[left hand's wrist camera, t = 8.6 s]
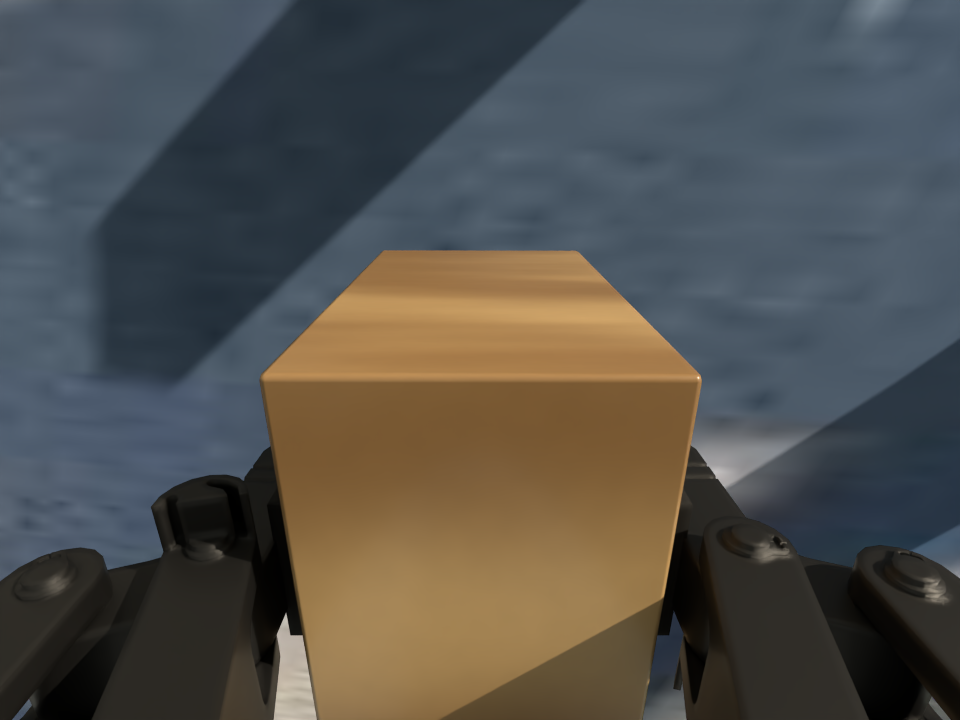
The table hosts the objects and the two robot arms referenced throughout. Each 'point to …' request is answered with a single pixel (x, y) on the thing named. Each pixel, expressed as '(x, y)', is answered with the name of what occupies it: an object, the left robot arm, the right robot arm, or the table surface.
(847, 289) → the table surface
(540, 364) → the oak bar
